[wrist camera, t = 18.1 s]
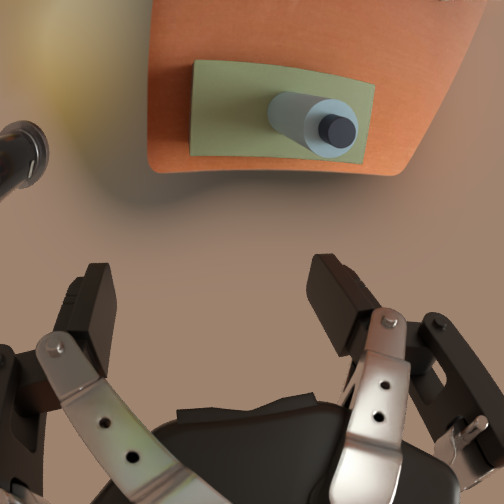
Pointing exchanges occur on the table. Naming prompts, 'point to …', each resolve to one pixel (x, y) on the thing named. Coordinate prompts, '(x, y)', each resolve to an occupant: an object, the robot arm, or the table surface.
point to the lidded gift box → (263, 109)
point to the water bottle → (314, 122)
